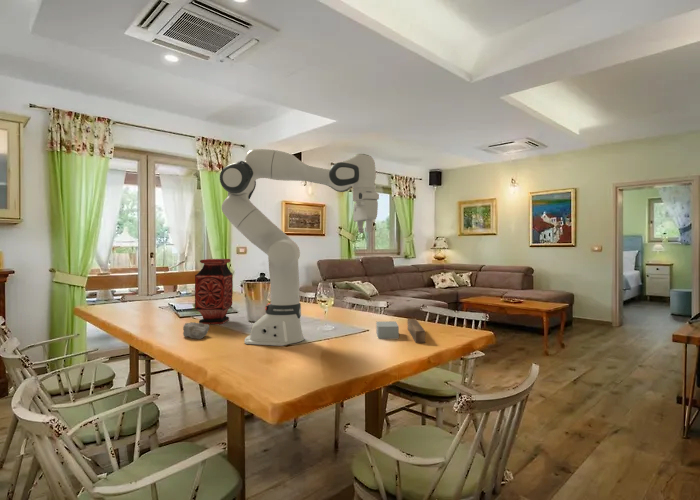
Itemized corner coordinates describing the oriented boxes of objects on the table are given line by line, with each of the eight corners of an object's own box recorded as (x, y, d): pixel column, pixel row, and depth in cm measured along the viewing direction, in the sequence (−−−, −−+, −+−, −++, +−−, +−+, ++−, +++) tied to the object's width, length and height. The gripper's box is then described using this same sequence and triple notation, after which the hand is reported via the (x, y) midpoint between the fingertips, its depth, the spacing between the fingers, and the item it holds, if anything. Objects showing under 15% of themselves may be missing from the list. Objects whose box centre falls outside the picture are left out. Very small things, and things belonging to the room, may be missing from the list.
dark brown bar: (415, 343, 150) (415, 331, 150) (407, 329, 174) (407, 318, 174) (425, 343, 150) (425, 331, 150) (415, 329, 174) (415, 318, 174)
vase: (224, 325, 185) (223, 259, 184) (194, 325, 185) (193, 259, 184) (233, 319, 199) (232, 258, 198) (205, 319, 199) (205, 258, 198)
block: (378, 339, 158) (378, 326, 157) (376, 333, 168) (376, 321, 167) (398, 339, 158) (398, 326, 157) (395, 333, 168) (395, 321, 167)
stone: (177, 339, 158) (177, 324, 158) (188, 334, 166) (188, 320, 166) (201, 340, 157) (201, 325, 157) (211, 335, 165) (211, 321, 165)
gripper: (349, 199, 165) (349, 233, 165) (364, 193, 145) (364, 231, 145) (364, 199, 167) (364, 233, 167) (380, 193, 147) (380, 231, 147)
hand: (364, 232), depth 156 cm, fingers open, 8 cm apart
